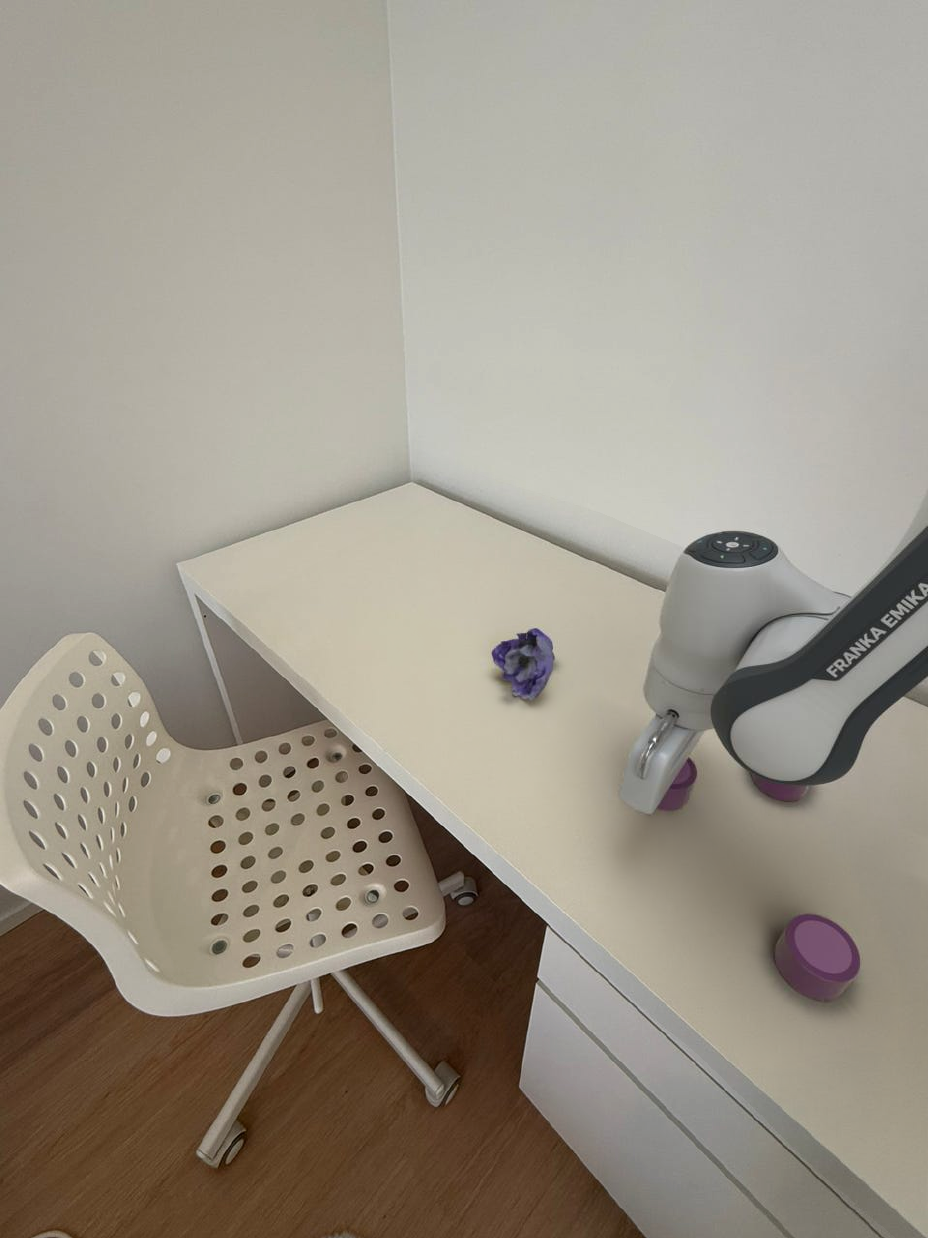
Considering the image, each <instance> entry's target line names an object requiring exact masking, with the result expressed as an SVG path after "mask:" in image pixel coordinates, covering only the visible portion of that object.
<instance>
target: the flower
mask: <svg viewBox="0 0 928 1238" xmlns="http://www.w3.org/2000/svg"><path fill="white" fill-rule="evenodd" d="M515 635H516V637H518V638H512V639H508V640H502V641H501V642H500V643H499V644H497V645H496V647H495V648H493V649H492V651H491V657H492V661H493V664H495V666H497V667H499V668H500V669H501V671H503V674H502V679H503V680H504V681H506V682H510V683H511V685H512V687H511V688H510V691H514V692H512V693H511V695H512V696H514V697H517V696H520V697H521V699H522V700H528V701H533V700H534V699H536V698H537V697H538V696H539V695H540V694H541V693H542V691H544V689H545V687H547V684H548V681H549V680H550V678H551V675H552V674H553V666H554V661H555V659H556V656H555V652H554V651H553V650H554V644H553V640H552V639H551V638H550V637H549V636H548V635H547V634H545V633H544V632H543V631H542V630H540V628H537V627H536V628H535V627H534V628H530V629H528V630H527V631H526V632H519V633H516V634H515Z"/></svg>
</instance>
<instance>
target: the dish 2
mask: <svg viewBox="0 0 928 1238" xmlns="http://www.w3.org/2000/svg"><path fill="white" fill-rule="evenodd" d="M773 955H774V961H775V964H776V967H777V970H778V971H779V973H780V975H781V976H782V978H783V979H784V981H785V982H786V983H787V984H788V985H789V986H790V987H791V988H792V989H793V990H795V991H796V992H798V993H799V994H801V995H802V996H805V997H806V998H809V999H811V1000H815V1001H821V1002H827V1001H828V1002H829V1001H834V1000H836V999H837V998H839V997H840V996H841V995H842V994H843V993H844V992H845V990H847V988H848V987H849V985H850V984H851V982H852V981H853V980H854V979H855V978H856V976H857V975H858V973H859V971H860V969H861V956H860V952H859V949H858V946H857V945H856V943H855V942H854V940H853V937H851V935H850V934H849V933H848V932H847V931H846V930H845V929H844V928H843V927H842V926H840V925H839V924H837V923H836V922H835V921H833V920H832V919H829V918H828V917H825V916H823V915H819V914H816V913H815V914H814V913H802V914H798V915H796V916H794V917H792V919H790V920H789V922H788V923H787V925H786V926H785V928H784V930H783V932H782V933H781V935H780V937H779V938H778V940H777V942H776V944H775V947H774V954H773Z"/></svg>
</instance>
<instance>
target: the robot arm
mask: <svg viewBox="0 0 928 1238" xmlns="http://www.w3.org/2000/svg"><path fill="white" fill-rule="evenodd" d="M670 574H671V575H670V577H669V581H668V584H667V587H666V589H665V593H664V596H663V600H662V604H661V608H660V613H659V619H658V622H659V623H658V624H659V629H660V631H659V635H658V637H657V639H656V640H655V642H654V644H653V645H652V649H651V652H650V656H649V661H648V666H647V670H646V674H645V680H644V683H643V688H642V691H643V696H644V700H645V702H646V704H647V705H648V707H649V708H650V709H651V710H652V711H653V712H654V713H655V714H654V716H653V717H652V718H651V720H650V721H649V722H648V724H647V725H646V727H644V729H643V731H642V732H641V733H640V735H639V736H638V738H636V741H635V743H633V744H634V745H633V747H632V748H631V750H630V753H629V756H628V758H627V761H626V763H625V768H624V771H623V774H622V777H621V781H620V784H619V788H618V793H617V795H618V798H619V799H620V800H621V802H623V803H624V804H626V805H628V806H629V807H631V808H633V809H635V810H636V811H639V812H641V813H642V814H646V815H652V814H653V813H654V812H655V811H656V809H657V806H658V805H659V803H660V801H661V800H662V798H663V797H664V795H665V794H666V792H667V790H668V789H669V787H670V786H671V784H672V783H673V781H674V779H675V778H676V776H677V775H678V773H679V772H680V770H681V768H682V767H683V765H684V764H685V762H686V761H687V759H688V757H689V758H690V756H691V754H692V753H693V751H694V749H695V748H696V746H697V745H698V743H699V741H700V740H701V739H702V737H703V735H704V734H705V732H706V731H708V730H713V729H714V731H715V733H716V735H717V737H718V739H719V741H720V742H721V744H722V746H723V748H724V749H725V750H726V752H727V753H728V755H730V757H731V758H732V759H733V760H734V762H736V763H737V764H738V765H739V766H740V767H742V768H743V769H744V770H746V771H747V772H748V773H750V774H751V775H752V774H754V775H756V776H758V777H760V778H762V779H764V780H767V781H770V782H773V783H777V784H783V785H790V786H809V787H811V786H812V787H813V786H818V785H819V786H820V785H824V784H829V783H832V782H835V781H837V780H839V779H841V778H843V777H844V776H845V775H847V774H848V773H849V772H850V771H851V769H852V768H853V766H854V765H855V763H856V761H857V759H858V757H859V754H860V751H861V748H862V746H863V742H864V740H865V738H866V736H867V734H868V732H869V730H870V729H871V728H872V727H873V725H874V723H875V722H876V721H877V720H878V719H879V718H880V717H881V716H882V715H884V713H885V712H887V711H888V709H890V708H891V707H892V706H894V705H895V704H896V703H897V702H898V701H900V700H901V699H902V698H903V697H904V696H905V695H907V694H908V693H909V692H911V691H912V690H913V689H914V688H916V687H917V686H918V685H919V684H921V683H922V682H923V681H925V679H927V678H928V489H927V490H926V492H925V495H924V497H923V499H922V500H921V503H920V505H919V507H918V509H917V511H916V513H915V515H914V517H913V519H912V520H911V522H910V524H909V526H908V528H907V529H906V531H905V533H904V534H903V536H902V537H901V540H900V541H899V543H898V544H897V545H896V547H895V548H894V550H893V551H892V552H891V554H890V555H889V556H888V557H887V559H886V560H885V562H884V563H883V564H882V565H881V566H880V567H879V569H877V571H876V572H875V573H874V574H873V575H872V576H871V577H869V579H868V580H867V581H866V582H865V583H864V584H863V585H862V586H861V587H860V588H859V589H858V590H857V591H856V592H855V593H854V594H853V595H847V594H845V593H843V592H842V593H841V592H838V591H834V590H832V589H830V588H828V587H825V586H824V585H822V584H820V583H819V582H817V581H816V580H814V579H812V578H811V577H810V576H808V575H807V574H805V573H804V572H802V571H801V570H800V569H798V568H797V566H795V565H794V564H793V563H792V562H791V561H790V560H789V559H788V557H787V555H786V553H785V552H784V551H783V550H782V548H781V547H780V546H779V544H777V543H776V542H775V541H774V540H772V539H770V538H769V537H766V536H764V535H761V534H758V533H755V532H750V531H744V530H723V531H719V532H718V531H717V532H713V533H708V534H705V535H703V536H701V537H699V538H697V539H696V540H694V541H692V542H690V544H688V545H687V546H686V547H685V548H684V549H683V550H682V552H681V553H680V554H679V556H678V558H677V560H676V561H675V564H674V566H673V569H672V572H671V573H670Z"/></svg>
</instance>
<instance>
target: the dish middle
mask: <svg viewBox="0 0 928 1238" xmlns="http://www.w3.org/2000/svg"><path fill="white" fill-rule="evenodd" d="M751 778H752V781H753V782H754V785H755V786H756V787H757V788H758V789H759V790H760V791H761V792H762V793H764V794H765V795H767V797H770V798H772V799H774V800H777V801H781V802H796V801H799V800H801V799H802V798H804V797H805V795H806V793H807V792H808V790H809V787H810V786H790V785H783V784H777V783H773V782H770V781H767V780H764V779H762V778H760V777H758V776H756V775H754V774H752V773H751Z"/></svg>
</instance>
